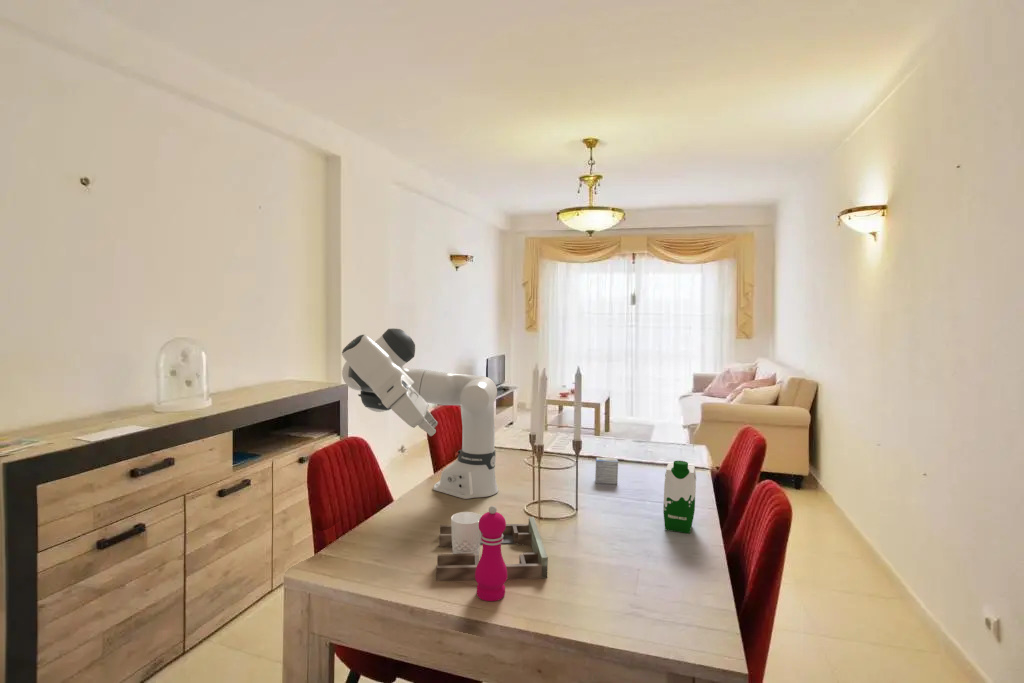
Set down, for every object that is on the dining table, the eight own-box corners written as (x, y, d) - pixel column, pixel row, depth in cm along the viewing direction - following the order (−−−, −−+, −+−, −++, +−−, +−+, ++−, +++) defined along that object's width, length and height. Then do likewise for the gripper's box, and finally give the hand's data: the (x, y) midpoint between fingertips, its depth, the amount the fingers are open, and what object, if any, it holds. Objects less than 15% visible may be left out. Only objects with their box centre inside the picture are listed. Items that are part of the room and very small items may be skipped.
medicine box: (616, 481, 206) (617, 458, 205) (617, 484, 201) (618, 461, 201) (595, 479, 206) (595, 457, 206) (595, 483, 202) (596, 460, 201)
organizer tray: (436, 580, 128) (436, 559, 128) (440, 535, 153) (440, 517, 153) (547, 578, 131) (547, 557, 131) (533, 534, 156) (533, 516, 156)
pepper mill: (499, 605, 118) (501, 514, 117) (468, 598, 121) (470, 508, 120) (511, 589, 125) (514, 503, 124) (482, 583, 128) (484, 498, 126)
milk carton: (661, 530, 160) (664, 462, 159) (664, 519, 169) (666, 455, 168) (693, 535, 158) (696, 466, 156) (694, 524, 166) (697, 458, 165)
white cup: (444, 554, 142) (445, 516, 141) (469, 546, 147) (470, 509, 146) (462, 565, 136) (462, 526, 135) (487, 557, 141) (488, 518, 140)
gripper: (392, 392, 147) (428, 429, 148) (381, 404, 127) (422, 448, 128) (410, 376, 147) (445, 413, 149) (401, 385, 127) (442, 429, 128)
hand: (434, 429), depth 138 cm, fingers open, 8 cm apart
